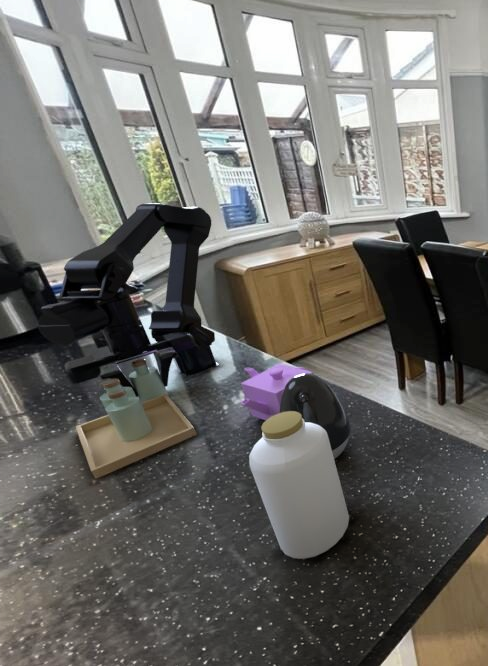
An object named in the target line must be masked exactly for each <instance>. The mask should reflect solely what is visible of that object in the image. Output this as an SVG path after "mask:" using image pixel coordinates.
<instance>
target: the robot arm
mask: <svg viewBox="0 0 488 666" xmlns="http://www.w3.org/2000/svg"><path fill="white" fill-rule="evenodd" d="M162 228H163V231H164V233H165V235H166V236H167V238H168V239H169V241H170V254H169V264H168V273H167V284H166V295H165V303H164V305H163V306H162V307H161V309H160V310H152V312H151V314H150V324H149V327H148V330H151V331H150V332H151V333H150V334H151V338H152V339H154V341H155V342H154V343H151V340H150V338H149V335H148V334H147V331H146V329H145V327H144V325H143V322H142V320H141V318H140V316H139V314H138V311H137V309H136V306H135V304H134V302H133V299H132V297H131V295H133V294H135V293H138V292H140V289H139V288H138V287H136V286H133V285H130V284H128V280H129V279H130V277H131V275H132V274H133V272H134V270H135V268H134V267H135V266H134V261H135V259H136V257H137V256H138V255H139V253H141V251H142V250H143V249H144V248H145V247H146V246H147V245H148V243H150V241H151V240H152V239H153V238H154V237H155V236H156V235H157V234H158V232H159V231H160V230H161V229H162ZM211 228H212V218H211V215H210V214H208V212H207V211H206V210H205V209H203V208H202V207H200V206H191V207H190V206H189V207H187V206H186V207H181V206H173V205H170V204H164V203H161V202H159V203H157V202H155V203H154V202H153V203H141V204H139V205H137V206H136V207H135V211H134V212H133V213H132V214H131V215H130V216H129V217H128V218H127V219H126V220H125V221H124V222H123V223H122V224H121V225H120V226H119V227H118V228H117V229H116V230H115V231H114V232H113V233H112V234H111V235H110V236H108V238H107V239H105V240H104V241H103V242H102V243H101V244H99V245H97V246H94V247H91V248H89V249H87V250H84V251H82V252H80V253H79V254H77V255H76V256H74V257H71V258H70V259H69V260H68V261H67V262H66V263H65V265H64V268H63V270H64V271H65V273H64V277H63V281H62V285H61V289H60V292H59V295H58V300H59V301H60V302H57V303H52V304H51V303H50V304H46V305H44V306H41V308H40V310H41V311H42V315H41V316H40V317H39V318H38V326H37V329H38V330H39V333H41V335H42V336H43V337H44V338H45V339H47V340H48V341H49V342H51V343H53V344H56V345H58V346H59V345H60V346H69V345H72V344H74V343H76V342H79V341H81V340H83V339H85V338H88V337H91V339H92V341H93V343H94V345H95V347H96V348H97V349H102V348H106V347H108V350H109V352H110V353H111V355H107V356H104V357H101V358H97V359H95V358H94V356H93V354H90V355H87V356H83V357H79V358H75V359H72V360H69V361H65V362H66V363H65V364H64V366H63V367H64V369H65V371H66V374H67V375H68V378H69V379H70V381H71V383H72V384H74V385H75V384H80V383H84V382H87V381H90V380H94V379H97V378H98V377H99V378H100V379H101V380H103V381H104V380H110V379H116V378H117V379H119V381H120V385H121V387H131V388H132V389H133V391H134V393H135V395H136V397H138V394H137V392H136V390H135V389H134V387H133V385H132V382H131V381H130V379H128V378H127V376H126V375H125V373H124V372H123V371H122V369H121V368H120V366H119V365H120V364H122V363H123V364H124V363H126V362H130V361H134V360H137V359H141V358H143V357H147V356H150V355H153V356H154V359H155V362H156V366H157V370H158V372H159V374H160V376H161V379H162V381H163V383H164V385H165V388H166V387H168V385H169V375H170V369H171V365H172V362H174V364H175V367H176V369H177V371H178V372H179V373H180V374H181V375H184V376H185V377H190V376H193V375H196V374H199V373H202V372H205V371H208V370H211V369H213V368H217V367H219V366H220V365H219V363H218V362H217V360H216V358H215V356H214V353H213V351H212V348H211V346H212V345H213V343H214V342H215V341H216V336H215V331H213V330H211V329H209V328H206V327H204V326H202V318H201V315H200V314H199V313H198V311H197V309H196V307H195V299H196V289H197V277H198V268H199V267H198V265H199V255H200V247H201V246H202V245H203V244H204V243H205V241H206V240H207V239H209V235H210V232H211ZM138 398H139V397H138Z"/></svg>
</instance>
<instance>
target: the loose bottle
mask: <svg viewBox="0 0 488 666" xmlns="http://www.w3.org/2000/svg"><path fill="white" fill-rule="evenodd" d="M130 365H131V367H132V368H133V370H134V371H133V372H131V373H130V374H129V375H128V378H129V381H130V383H131V384H132V386H133V387H134V389H135V390H136V392H137V394H138V398H139V399H140V402H141V403H142V402H145V401H148V400H151V399H153V398H156V397H159V396H162V395H165V394H167V395H168V396H169V392H168V389H167V388H166V387H165V385H164V383H163V381H162V379H161V376H160V373H159V370H158V367H156V366H148V364H147V360H146V359H145V358H137V359H134V360H132V361H131V362H130Z"/></svg>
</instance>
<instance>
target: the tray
mask: <svg viewBox="0 0 488 666" xmlns="http://www.w3.org/2000/svg"><path fill="white" fill-rule="evenodd" d="M141 404H142V406H143V408H144V410H145V412H146V414H147V416H148V418H149V420H150V422H151V424H152V427H153V430H152V431H151V432H150V433H149V434H148V435H146V436H144V437H142V438H140V439H137V440H134V441H129V442H124V441H122V440H121V439H120V437H119V435H118V433H117V431H116V429H115V427H114V425H113V423H112V422H111V420H110V418H109V416H108V414H107V415H104V416H100V417H98V418H96V419H93V420H90V421H87V422H84V423H81V424H79V425H76V426H75V429H76V432H77V435H78V438H79V441H80V444H81V446H82V449H83V452H84V455H85V457H86V462H87V463H88V466H89V468H90V471H91V473H92V475H93V477H94V478H95V479H99V478H101V477H103V476H106V475H109V474H110V473H112V472H114V471H117V470H119V469H122V468H124V467H127V466H128V465H131V464H133V463H135V462H138V461H139V460H142V459H145V458H147V457H149V456H152V455H153V454H156V453H158V452H160V451H163V450H165V449H167V448H169V447H172V446H174V445H176V444H179V443H181V442H183V441H186V440H188V439H190V438H193V437H195V436H197V435H198V433H197V432H196V429H195V427H194V426H193V425H192V423H191V422H190V421H189V420H188V418H187V417H186V416H185V414H183V412H182V411H181V410H180V409H179V407H178V406H177V405H176V403H175V402H174V401H173V400H172V398H170V397H169V394H168V395H167V394H165V395H162V396H159V397H156V398H153V399H151V400H148V401H145V402H142V403H141Z"/></svg>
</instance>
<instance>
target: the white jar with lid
mask: <svg viewBox="0 0 488 666" xmlns="http://www.w3.org/2000/svg"><path fill="white" fill-rule="evenodd" d="M260 429H261V431H262V432H261V433H262V434H261V436H262V437H261V438H260V439H259V440H258V441H256V443H255V444H254V446H253V447H252V449H251V451H250V453H249V457H248V458H249V459H248V460H249V461H248V462H249V463H248V464H249V469H250V472H251V473H252V477H253V480H254V482H255V485H256V488H257V490H258V492H259V495H260V498H261V500H262V503H263V506H264V508H265V511H266V514H267V516H268V519H269V522H270V524H271V527H272V530H273V533H274V535H275V537H276V540H277V542H278V545H279V548H280V549H281V551H282V552H283V553H284V555H286V556H287V557H290V558H292V559H299V560H306V559H309V558H314V557H317V556H320V555H321V554H323V553H325V552H327V551H329V549H332V547H334V546H335V545H336V544H337V543H338V542H339V541H340V540H341V539H342V537H343V536H344V535H345V533H346V531H347V529H348V527H349V522H350V515H349V511H348V507H347V504H346V499H345V496H344V492H343V488H342V484H341V481H340V477H339V473H338V469H337V466H336V461H335V459H334V457H333V453H332V450H331V446H330V442H329V438H328V435H327V432H326V431H325V430H324V429H323V428H322V427H321V426H319V425H317V424H314V423H310V422H305V421H304V419H303V418H302V415H301V414H300V413H299V412H295V411H287V412H282V413H279V414H276V415H274V416H272V417H270V418H269V419H267V420H264V422H263V423H262V425H261V428H260Z"/></svg>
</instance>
